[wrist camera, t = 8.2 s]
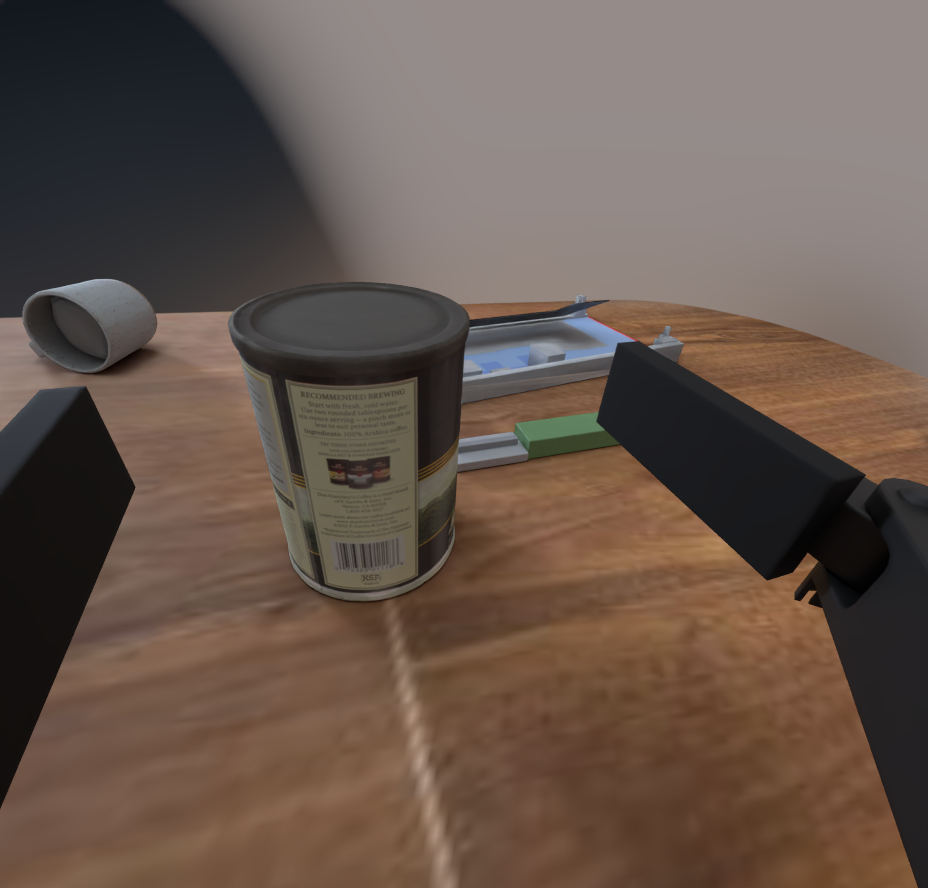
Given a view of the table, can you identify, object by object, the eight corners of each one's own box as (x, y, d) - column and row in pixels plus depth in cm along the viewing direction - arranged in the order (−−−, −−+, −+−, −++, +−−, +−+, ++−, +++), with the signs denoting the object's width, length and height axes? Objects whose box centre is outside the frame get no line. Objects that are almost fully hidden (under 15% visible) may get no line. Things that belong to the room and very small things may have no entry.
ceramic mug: (172, 343, 48) (146, 272, 44) (124, 376, 42) (89, 295, 37) (76, 339, 48) (41, 266, 44) (13, 371, 42) (-36, 289, 37)
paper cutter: (677, 361, 53) (693, 317, 50) (298, 435, 36) (287, 374, 32) (582, 314, 66) (591, 277, 63) (270, 351, 48) (260, 302, 45)
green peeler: (610, 424, 40) (615, 408, 39) (631, 444, 38) (637, 426, 36) (444, 448, 35) (445, 430, 34) (456, 472, 33) (457, 453, 32)
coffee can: (406, 464, 33) (403, 272, 25) (487, 553, 26) (517, 331, 18) (266, 512, 28) (206, 291, 20) (321, 638, 21) (264, 381, 13)
